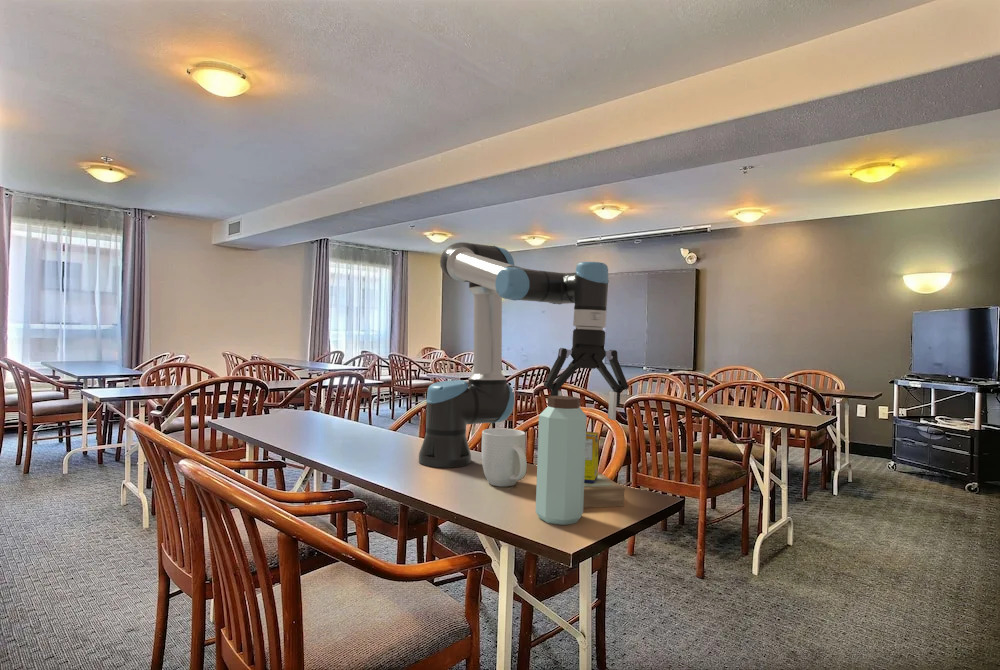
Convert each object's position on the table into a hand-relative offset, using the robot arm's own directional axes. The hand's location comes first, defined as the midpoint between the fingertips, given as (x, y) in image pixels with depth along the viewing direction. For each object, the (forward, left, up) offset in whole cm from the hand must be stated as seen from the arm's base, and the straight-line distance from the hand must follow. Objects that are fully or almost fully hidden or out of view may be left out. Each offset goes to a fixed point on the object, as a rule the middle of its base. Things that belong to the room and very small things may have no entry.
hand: (584, 419), depth 130 cm
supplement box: (0, 0, -14) cm, 14 cm away
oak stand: (0, 0, -18) cm, 18 cm away
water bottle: (+13, -10, -19) cm, 25 cm away
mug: (-13, -16, -19) cm, 28 cm away
